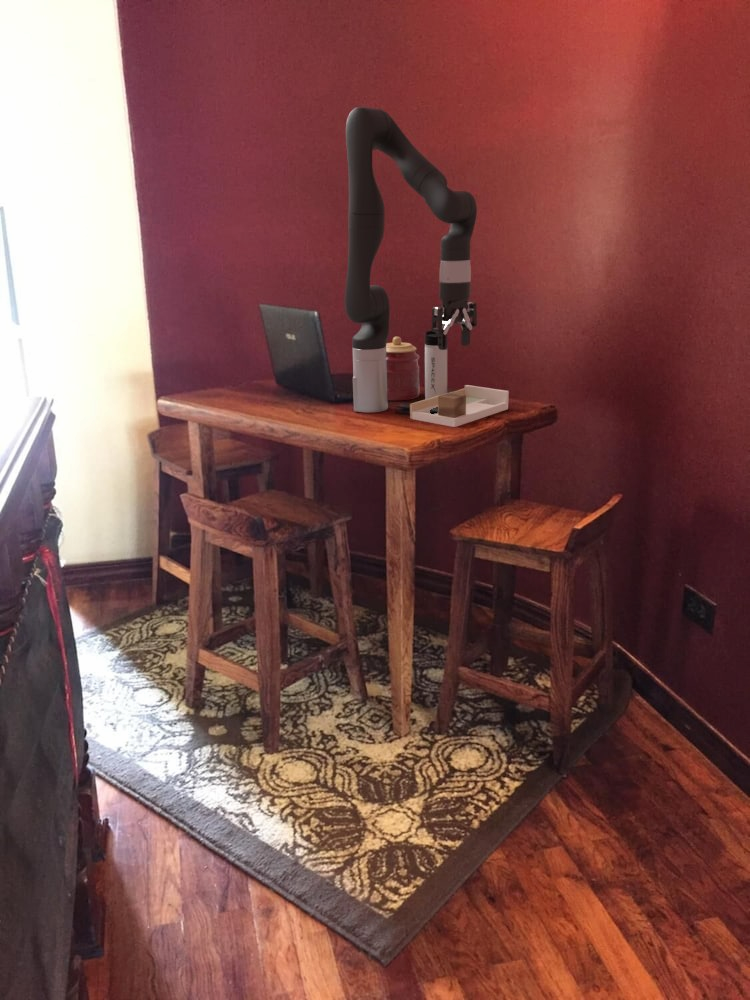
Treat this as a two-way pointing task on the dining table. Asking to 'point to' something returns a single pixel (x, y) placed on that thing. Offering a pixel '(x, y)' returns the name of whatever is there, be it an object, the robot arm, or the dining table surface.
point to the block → (452, 405)
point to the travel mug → (434, 367)
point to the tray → (477, 406)
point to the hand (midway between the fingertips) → (454, 347)
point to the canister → (402, 371)
